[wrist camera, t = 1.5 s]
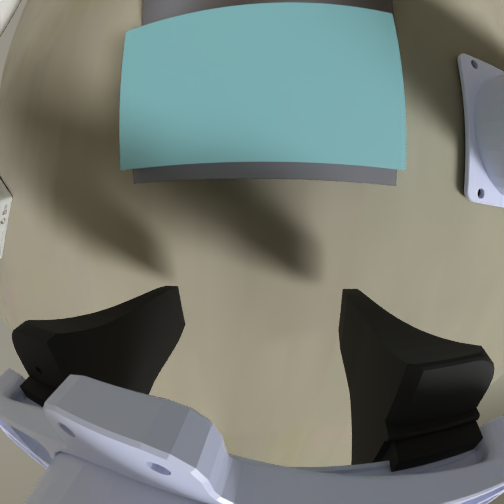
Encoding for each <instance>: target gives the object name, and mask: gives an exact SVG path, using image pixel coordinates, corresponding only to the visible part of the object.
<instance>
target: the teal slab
mask: <svg viewBox="0 0 504 504" xmlns="http://www.w3.org/2000/svg"><path fill="white" fill-rule="evenodd" d="M119 142H120V171H121V170H129V169H133V177H134V183H146V182H160V181H177V180H199V179H305V180H327V181H344V182H358V183H370V184H381V185H391V186H396V177H397V170H405V171H406V112H405V96H404V84H403V74H402V66H401V58H400V52H399V45H398V39H397V34H396V29H395V24H394V19H393V14H392V13H387V12H382V11H377V10H372V9H366V8H360V7H353V6H344V5H335V4H323V3H299V2H283V3H259V4H246V5H237V6H229V7H221V8H215V9H209V10H203V11H198V12H193V13H188V14H184V15H180V16H175V17H171V18H168V19H164V20H160V21H157V22H153V23H150V24H147V25H144V26H141V27H138V28H135V29H132V30H129V31H126V36H125V44H124V53H123V62H122V74H121V89H120V117H119Z"/></svg>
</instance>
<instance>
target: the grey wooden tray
mask: <svg viewBox="0 0 504 504" xmlns="http://www.w3.org/2000/svg"><path fill="white" fill-rule="evenodd" d="M283 2H299V3H323V4H335V5H344V6H353V7H360V8H366V9H372V10H377V11H382V12H387V13H392V14H393V7H392V1H391V0H143V18H142V26H144V25H147V24H150V23H153V22H157V21H160V20H164V19H168V18H171V17H175V16H180V15H184V14H188V13H193V12H198V11H203V10H209V9H215V8H221V7H229V6H237V5H246V4H259V3H283ZM393 19H394V14H393ZM394 24H395V21H394Z"/></svg>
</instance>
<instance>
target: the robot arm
mask: <svg viewBox="0 0 504 504" xmlns="http://www.w3.org/2000/svg"><path fill="white" fill-rule="evenodd" d="M457 61H458V66H459V72H460V79H461V86H462V94H463V104H464V117H465V143H466V156H465V183H464V195H465V197H466V199H467V200H469V201H472V202H476V203H482V204H487V205H492V206H498V207H503V208H504V71H502V70H500V69H498V68H496V67H494V66H492V65H490V64H488V63H486V62H483V61H481V60H479V59H477V58H474V57H472V56H470V55H467V54H464V53H463V54H460V55H459V56H458V57H457ZM471 63H472V64H473V65H474V67H475V68H474V67H473V66H472V64H471ZM479 189H480V196H479V197H478V190H479ZM184 326H185V321H184V316H183V311H182V306H181V300H180V295H179V289H178V286H164V287H160V288H157V289H155V290H152V291H150V292H148V293H145V294H143V295H141V296H138V297H136V298H134V299H131V300H129V301H126V302H124V303H121V304H119V305H116V306H114V307H111V308H108V309H105V310H102V311H99V312H95V313H91V314H87V315H82V316H77V317H72V318H65V319H56V320H28V321H25V322H24V323H22V324H21V325H20V326H18V327H17V328H16V329H14V330H13V333H12V340H13V344H14V347H15V350H16V352H17V354H18V356H19V358H20V360H21V362H22V364H23V365H24V367H25V369H26V371H27V372H28V374H29V377H28V378H27V379H26V380H25V379H24V378H23V376H21V375H20V374H19V373H17V372H15V371H14V370H12V369H10V368H9V369H8V370H7V371H5V372H4V373H3V374H2V375H1V376H0V427H1V429H2V430H3V431H4V432H5V433H6V434H7V436H8V437H9V438H10V439H11V440H13V441H14V442H15V443H16V444H17V445H18V446H19V447H21V448H22V449H23V450H24V451H25V452H26V453H28V454H29V455H30V456H31V457H32V458H33V459H35V460H36V461H37V462H38V463H40V464H41V465H42V466H44V467H45V468H46V471H45V472H44V474H43V475H42V476H41V478H40V479H39V481H38V482H37V483H36V485H35V486H34V488H33V489H32V491H31V492H30V494H29V495H28V497H27V498H26V500H25V501H24V503H23V504H487V503H489V502H491V501H492V500H494V499H495V498H496V497H498V496H499V495H500V494H502V493H503V492H504V415H502V416H500V417H498V418H495V419H493V420H490V421H488V422H486V423H485V424H483V425H482V426H481V427H480V428H479V426H478V424H477V422H476V420H478V418H479V416H480V414H479V412H478V410H477V408H476V407H477V406H478V404H479V402H480V401H481V399H482V398H483V396H484V394H485V393H486V391H487V389H488V387H489V385H490V383H491V381H492V378H493V374H494V364H493V362H492V360H491V359H490V358H489V356H488V355H487V353H486V352H485V350H484V349H483V348H482V346H478V345H471V344H465V343H459V342H455V341H451V340H447V339H443V338H440V337H437V336H434V335H431V334H429V333H426V332H424V331H421V330H419V329H417V328H415V327H413V326H411V325H409V324H407V323H405V322H403V321H401V320H400V319H398V318H396V317H395V316H393V315H392V314H390V313H389V312H387V311H386V310H384V309H383V308H382V307H380V306H379V305H378V304H376V303H375V302H374V301H372V300H371V299H370V298H369V297H367V296H366V295H365V294H363V293H362V292H361V291H359V290H358V289H343V292H342V303H341V313H340V322H339V340H340V350H341V354H342V359H343V363H344V368H345V372H346V377H347V381H348V386H349V392H350V400H351V417H352V463H351V465H347V466H331V467H285V466H279V465H274V464H270V463H265V462H260V461H256V460H252V459H248V458H244V457H240V456H237V455H233V454H229V453H227V451H226V448H225V444H224V441H223V437H222V436H221V434H220V433H219V432H218V430H217V429H216V427H215V426H214V425H213V423H212V422H211V421H210V420H209V419H208V418H206V417H204V416H203V415H201V414H200V413H198V412H197V411H195V410H194V409H192V408H191V407H188V406H185V405H182V404H180V403H177V402H174V401H171V400H169V399H165V398H160V397H156V396H152V395H149V392H150V390H151V388H152V386H153V383H154V381H155V379H156V378H157V376H158V374H159V372H160V371H161V369H162V367H163V366H164V364H165V363H166V361H167V359H168V358H169V356H170V355H171V353H172V351H173V350H174V348H175V346H176V345H177V343H178V341H179V339H180V336H181V334H182V332H183V329H184Z"/></svg>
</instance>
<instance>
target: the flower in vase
mask: <svg viewBox="0 0 504 504" xmlns="http://www.w3.org/2000/svg"><path fill="white" fill-rule="evenodd" d="M20 2H21V0H0V36H1V34H2V33H3V31H4V30H5V28H6V27H7V25H8V23H9V22H10V20H11V18H12V16H13V15H14V13H15V11H16V9H17V8H18V5H19V4H20Z"/></svg>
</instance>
